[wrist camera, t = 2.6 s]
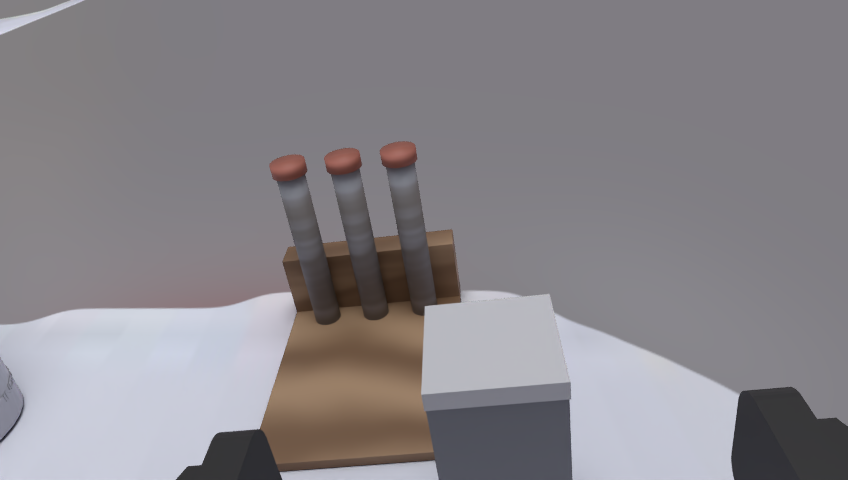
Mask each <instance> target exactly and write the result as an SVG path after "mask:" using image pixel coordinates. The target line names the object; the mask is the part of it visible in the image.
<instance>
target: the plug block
mask: <svg viewBox="0 0 848 480" xmlns="http://www.w3.org/2000/svg"><path fill="white" fill-rule="evenodd" d="M421 396H422V402H423V407H424V411H426V414H427V419H428V424H429V430H430V435H431V440H432V446H433V451H434V456H435V461H436V467H437V472H438V477H439V480H572V459H571V431H570V403H569V399H571V383H570V378H569V374H568V370H567V365H566V361H565V357H564V353H563V349H562V344H561V340H560V336H559V332H558V328H557V323H556V319H555V315H554V311H553V307H552V303H551V298H550V294H546V295H536V296H524V297H514V298H504V299H493V300H483V301H473V302H462V303H452V304H442V305H431V306H425V315H424V339H423V362H422V386H421Z"/></svg>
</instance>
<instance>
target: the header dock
mask: <svg viewBox="0 0 848 480" xmlns="http://www.w3.org/2000/svg"><path fill="white" fill-rule="evenodd" d="M380 155H381V160H382V164H383V166H385V167H386V169H387V175H388V180H389V186H390V191H391V197H392V202H393V207H394V213H395V218H396V224H397V229H398V234H399V235H397V236H386V237H378V238H374V237H373V232H372V228H371V222H370V217H369V213H368V208H367V203H366V198H365V193H364V188H363V183H362V179H361V174H360V169H359V168H360V167H361V165H362V163H361V158H360V153H359V151H358V150H357V149H354V148H344V149H339V150H335V151H332V152H330V153H328V154H327V155H326V156H325V158H324V160H325V164H326V168H327V172H328V173H330V174H331V176H332V180H333V184H334V189H335V193H336V197H337V202H338V205H339V210H340V214H341V219H342V223H343V227H344V232H345V236H346V240H347V241H340V242H331V243H322V239H321V235H320V231H319V227H318V223H317V219H316V215H315V211H314V207H313V204H312V200H311V195H310V192H309V188H308V184H307V180H306V176H305V174H306V172H307V167H306V163H305V159H304V157H303V156H301V155H287V156H283V157H280V158H277V159H275V160H274V161H272V162H271V163H270V170H271V173H272V177H273V179H274V180H276V181H277V183H278V186H279V190H280V193H281V197H282V200H283V204H284V208H285V211H286V215H287V218H288V222H289V225H290V229H291V233H292V236H293V240H294V243H295V246H294V247H288V249H287V252H286V254H285V257H284V259H283V266H284V269H285V272H286V275H287V279H288V282H289V286H290V289H291V293H292V296H293V299H294V303H295V306H296V310H297V314H296V317H295V321H294V324H293V327H292V330H291V333H290V336H289V339H288V342H287V346H286V349H285V352H284V355H283V358H282V361H281V364H280V367H279V371H278V374H277V377H276V380H275V383H274V386H273V389H272V393H271V396H270V399H269V402H268V405H267V408H266V411H265V414H264V418H263V421H262V424H261V427H260V430H262V431H263V432H264V433H265V435H266V437H267V440H268V443H269V445H270V448H271V451H272V454H273V456H274V459H275V462H276V464H277V467H278V470H279V471H292V470H305V469H318V468H332V467H345V466H359V465H372V464H386V463H399V462H412V461H426V460H435V456H434V451H433V446H432V440H431V435H430V430H429V424H428V419H427V414H426V411H424V407H423V402H422V396H421V386H422V362H423V339H424V315H425V306H431V305H442V304H452V303H461V297H460V282H459V275H458V268H457V260H456V253H455V246H454V239H453V231H452V230H443V231H434V232H426V231H425V224H424V218H423V212H422V206H421V199H420V193H419V187H418V181H417V174H416V168H415V162H416V160H417V154H416V147H415V144H413V143H411V142H395V143H391V144H388V145H386V146H384V147H382V148H381V150H380Z"/></svg>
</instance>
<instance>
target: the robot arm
mask: <svg viewBox="0 0 848 480" xmlns="http://www.w3.org/2000/svg"><path fill="white" fill-rule="evenodd" d="M22 407H23V395H22V393H21V391H20V389H19V388H18V386H17V384H16V383H15V381H14V379H13V377H12V374H11V373H10V371H9V369H8V368H7V367H6V365H5V364H4V363H3V361H2V359H1V358H0V440H1V439H2V438H3V437H4V436H5V435H6V433H7V432H8V431H9V430H10V429H11V428H12V426H13V425H14V423H15V422H16V420H17V419H18V417H19V415H20V413H21V410H22ZM731 461H732V471H733V476H734V480H848V426H846V425H845V424H843V423H842V422H841V421H839V420H838V419H837V418H827V419H817V418H816V417H815V415H814V414H813V412H812V411H811V409H810V408H809V406H808V405H807V403H806V402H805V400H804V399H803V397H802V396H801V394H800V393H799V392H798V391H797V390H796V389H794V388H792V387H785V388H773V389H760V390H749V391H742V392H741V394H740V396H739V400H738V408H737V415H736V423H735V431H734V439H733V447H732V456H731ZM176 480H282V478H281V475H280V473H279V470H278V467H277V464H276V462H275V459H274V456H273V454H272V451H271V448H270V445H269V443H268V440H267V437H266V435H265V433H264V432H263V431H262V430H260V429H257V430H245V431H233V432H221V433H217V434H216V435H215V436H214V438H213V439H212V441H211V444H210V446H209V449H208V451H207V454H206V456H205V458H204V461H203V463H202V465H199V466H188V467H187V468H186V469H185V470H184V471H183V472H182V473H181V475H180V476H179V477H178V478H177V479H176Z"/></svg>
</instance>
